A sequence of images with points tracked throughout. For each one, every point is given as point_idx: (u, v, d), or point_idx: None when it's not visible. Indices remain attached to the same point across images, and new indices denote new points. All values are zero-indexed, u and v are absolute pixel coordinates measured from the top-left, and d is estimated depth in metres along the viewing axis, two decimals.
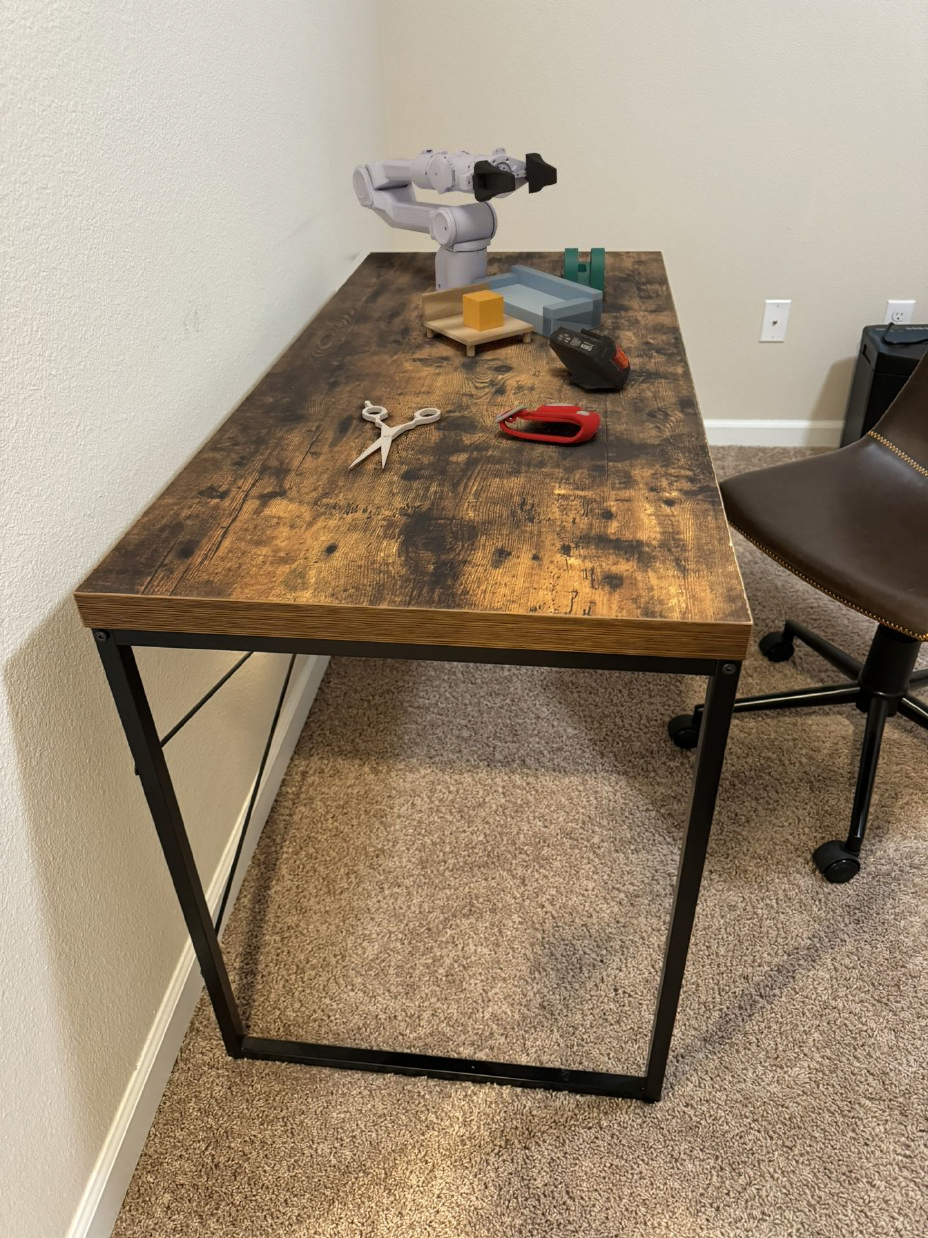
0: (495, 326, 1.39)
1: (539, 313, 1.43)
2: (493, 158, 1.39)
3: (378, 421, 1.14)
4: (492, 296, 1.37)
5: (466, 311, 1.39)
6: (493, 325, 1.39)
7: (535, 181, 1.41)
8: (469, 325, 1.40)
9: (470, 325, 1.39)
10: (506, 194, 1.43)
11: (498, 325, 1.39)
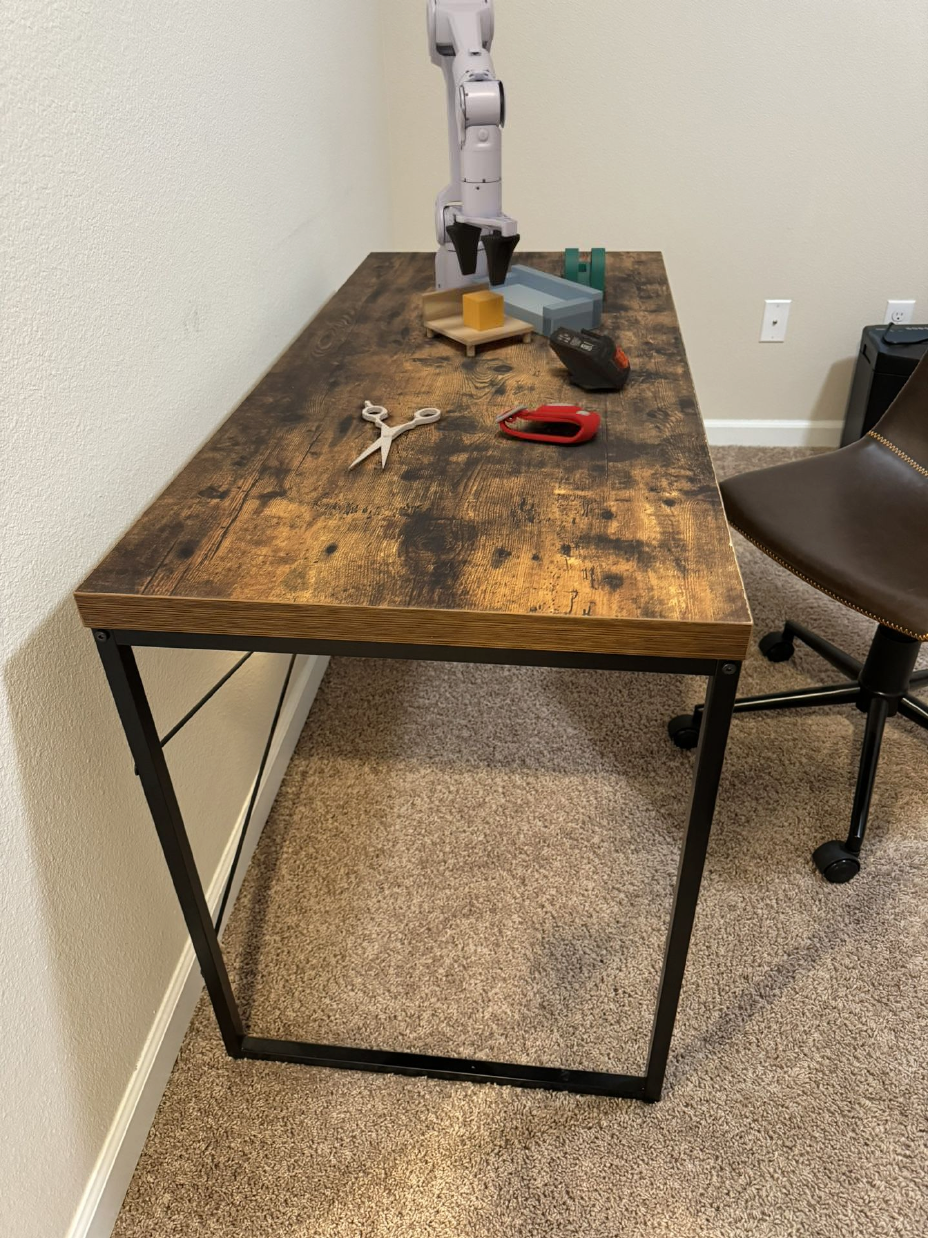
0: (495, 326, 1.39)
1: (539, 313, 1.43)
2: None
3: (378, 421, 1.14)
4: (492, 296, 1.37)
5: (466, 311, 1.39)
6: (493, 325, 1.39)
7: None
8: (469, 325, 1.40)
9: (470, 325, 1.39)
10: None
11: (498, 325, 1.39)
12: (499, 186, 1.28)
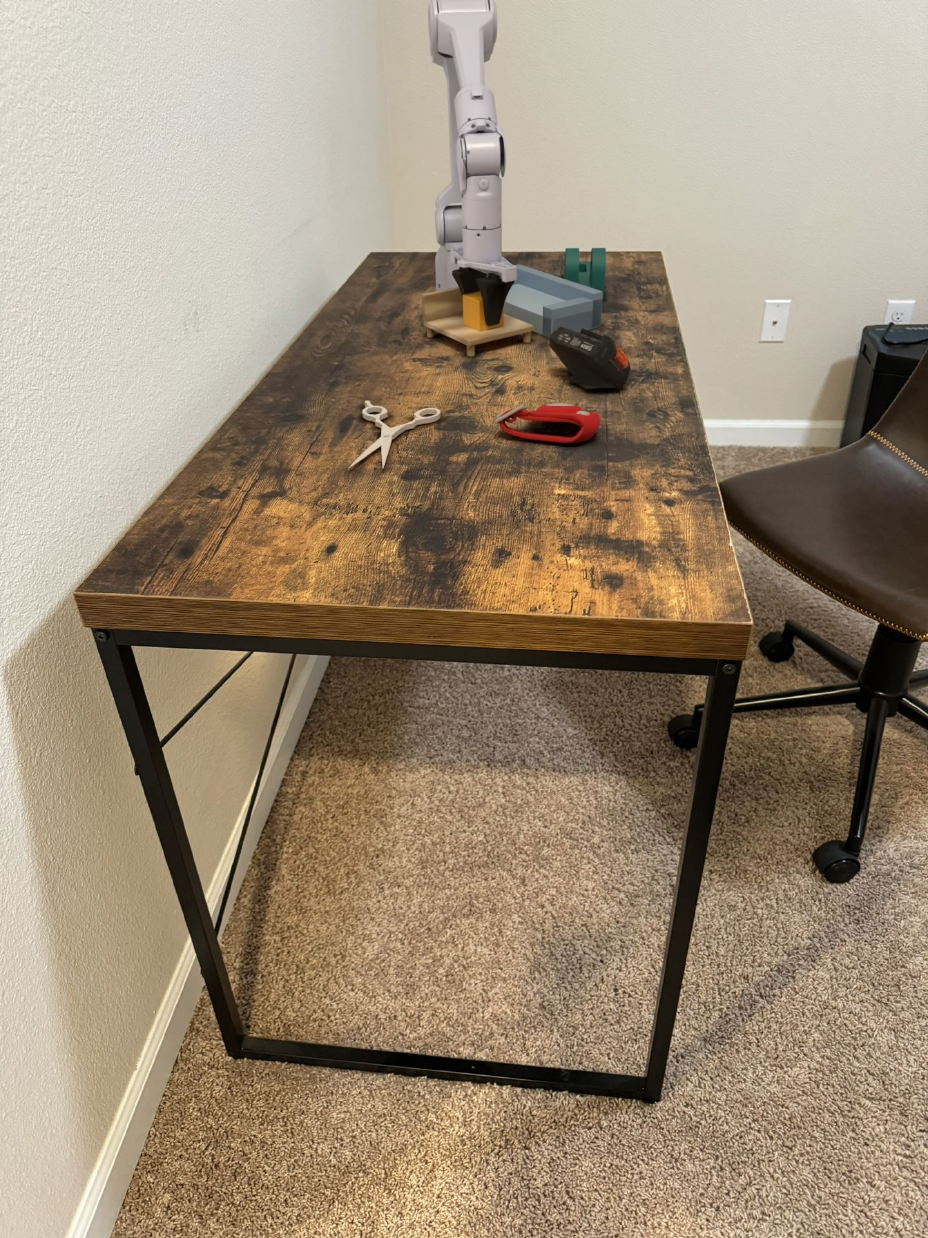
0: (495, 326, 1.39)
1: (539, 313, 1.43)
2: None
3: (378, 421, 1.14)
4: None
5: (466, 311, 1.39)
6: (493, 325, 1.39)
7: None
8: (469, 325, 1.40)
9: (470, 325, 1.39)
10: None
11: (498, 325, 1.39)
12: (499, 232, 1.31)
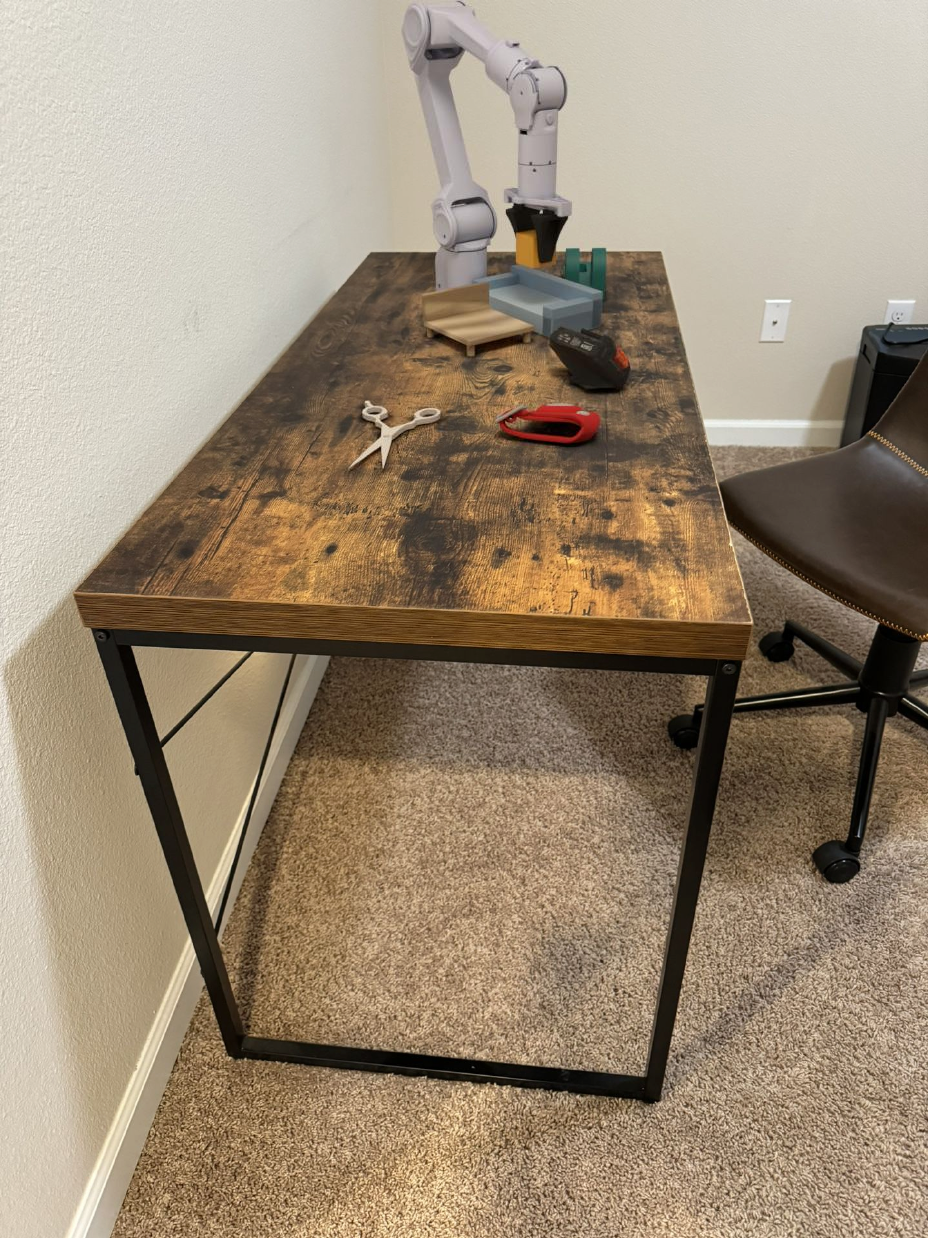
0: (547, 264, 1.42)
1: (539, 313, 1.43)
2: None
3: (378, 421, 1.14)
4: None
5: (519, 249, 1.42)
6: (546, 263, 1.41)
7: None
8: (522, 263, 1.42)
9: (523, 263, 1.42)
10: None
11: (550, 263, 1.42)
12: (554, 169, 1.34)
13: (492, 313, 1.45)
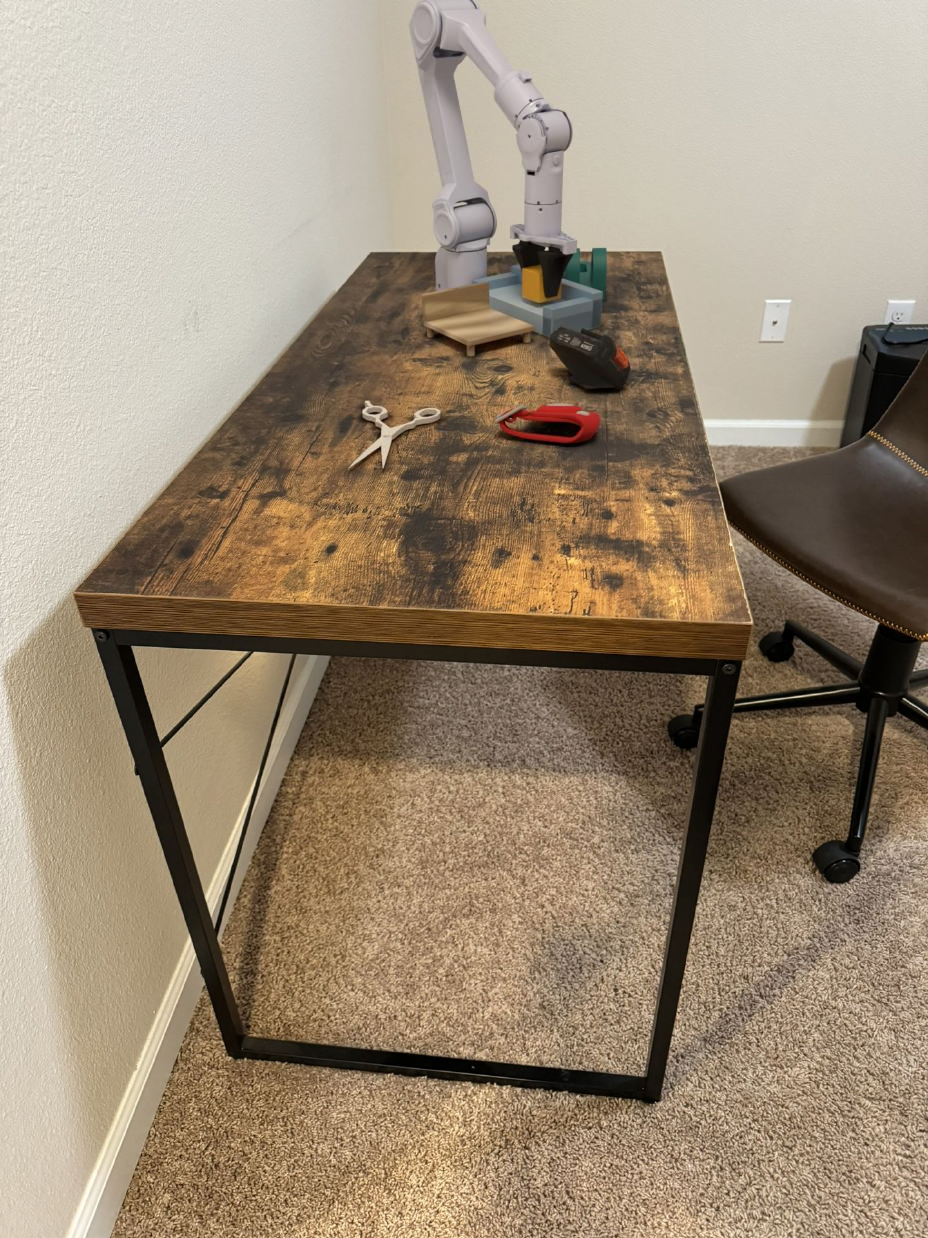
0: (553, 298, 1.46)
1: (539, 313, 1.43)
2: None
3: (378, 421, 1.14)
4: None
5: (526, 284, 1.46)
6: (551, 297, 1.45)
7: None
8: (528, 297, 1.46)
9: (529, 297, 1.46)
10: None
11: (556, 297, 1.46)
12: (560, 207, 1.38)
13: (492, 313, 1.45)
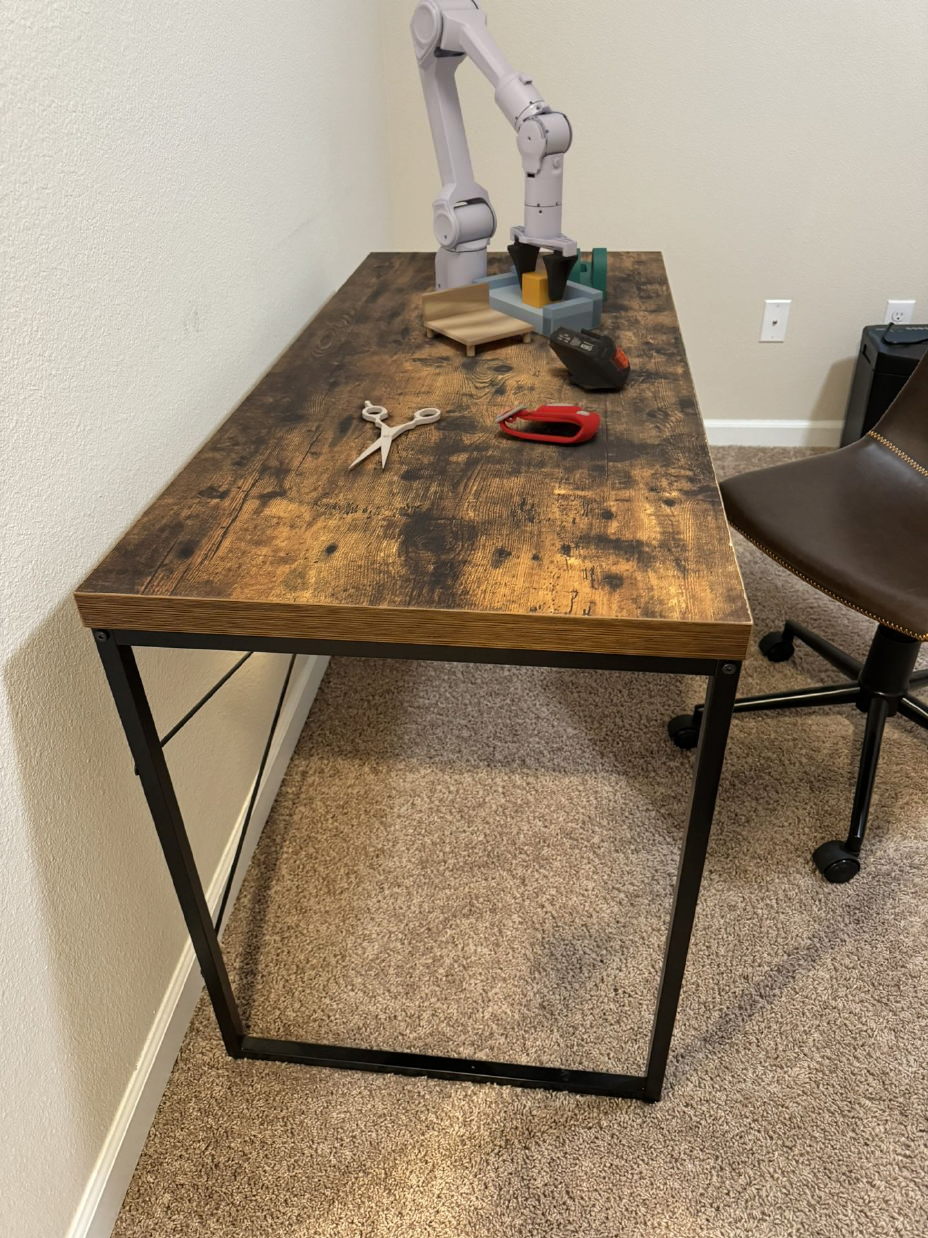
0: None
1: (539, 313, 1.43)
2: None
3: (378, 421, 1.14)
4: None
5: (526, 289, 1.46)
6: (551, 303, 1.46)
7: None
8: (528, 303, 1.47)
9: (529, 303, 1.46)
10: None
11: None
12: (560, 210, 1.38)
13: (492, 313, 1.45)
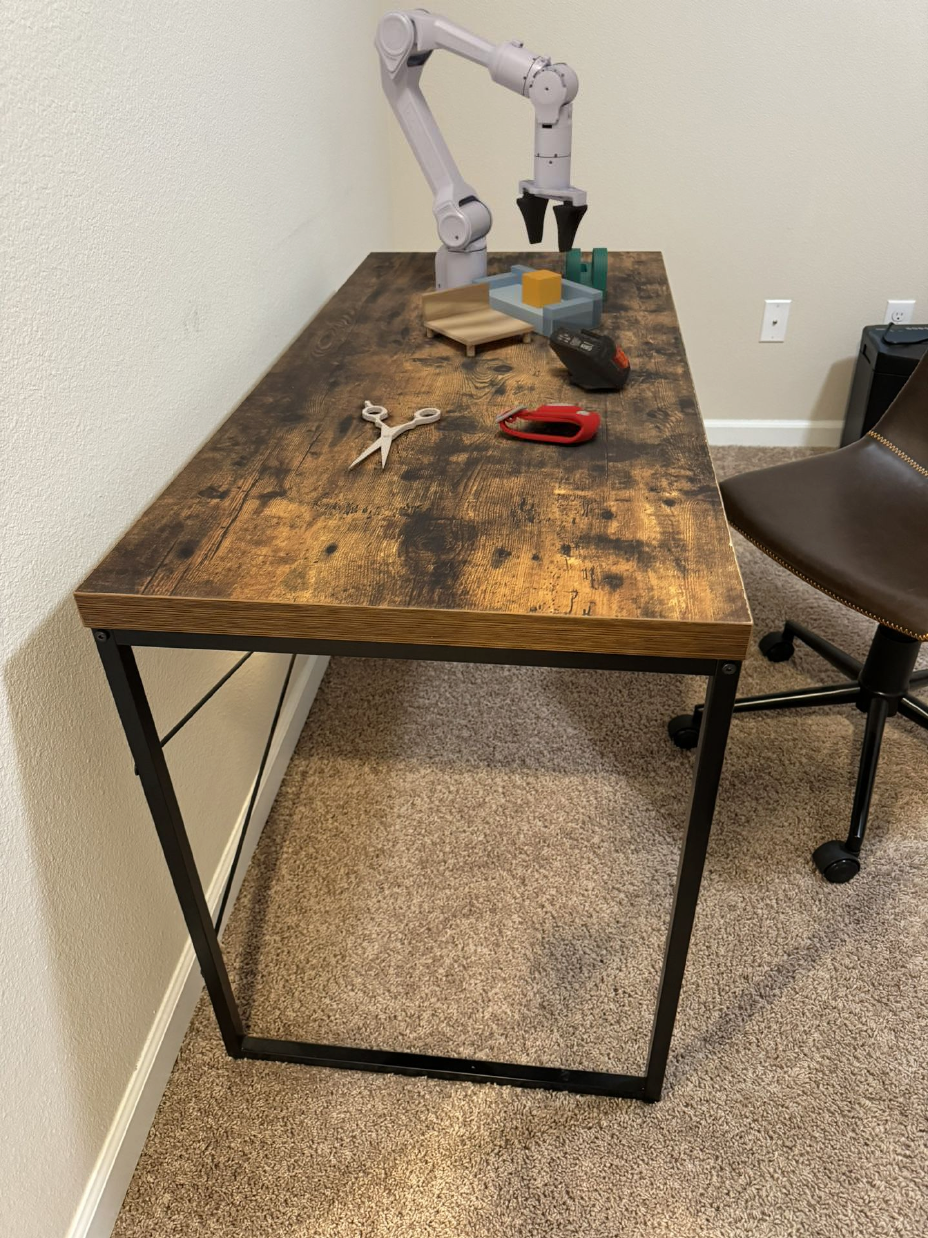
0: None
1: (539, 313, 1.43)
2: None
3: (378, 421, 1.14)
4: (551, 275, 1.44)
5: (526, 289, 1.46)
6: (551, 303, 1.46)
7: None
8: (528, 303, 1.47)
9: (529, 303, 1.46)
10: None
11: None
12: (569, 160, 1.41)
13: (492, 313, 1.45)
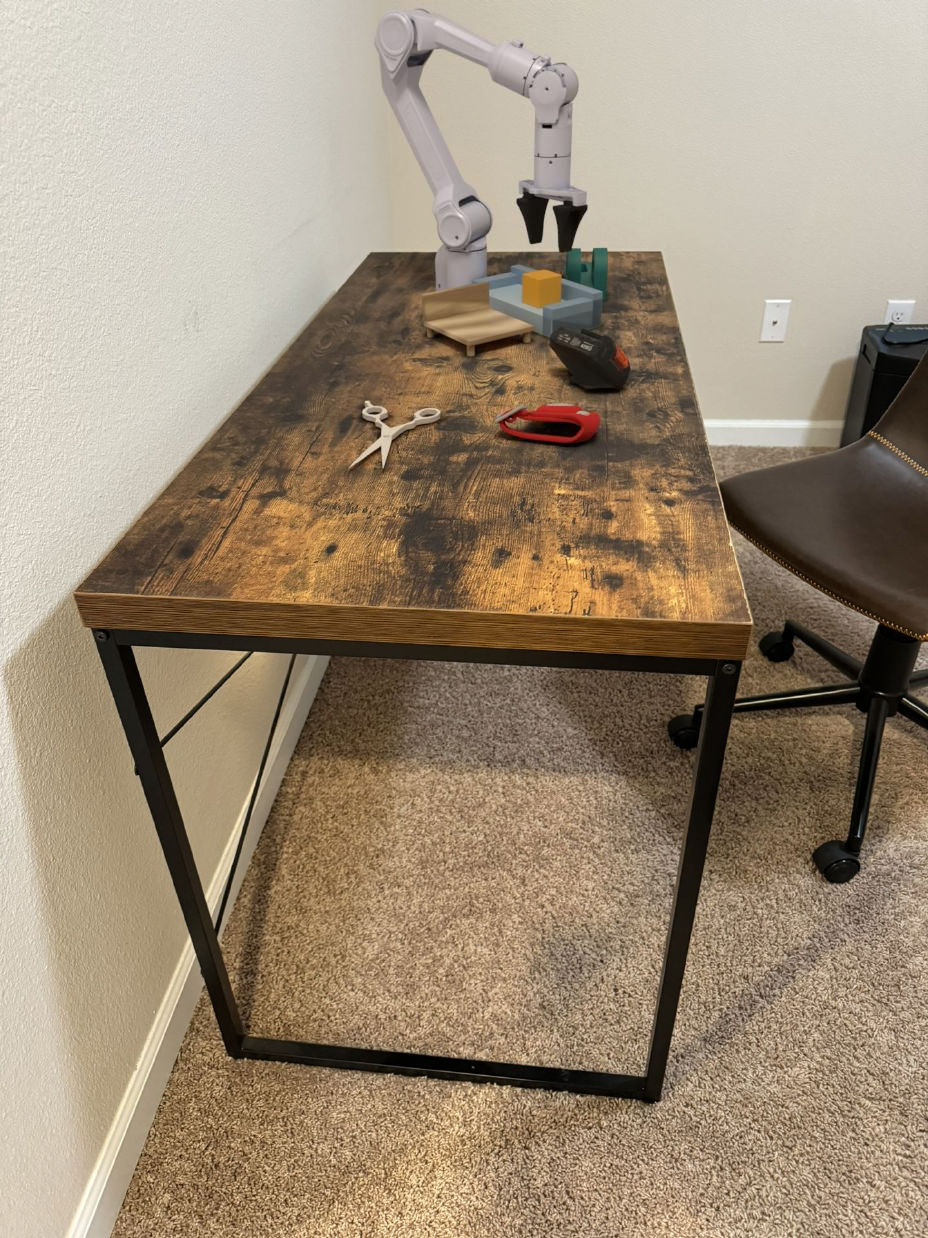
0: None
1: (539, 313, 1.43)
2: None
3: (378, 421, 1.14)
4: (551, 275, 1.44)
5: (526, 289, 1.46)
6: (551, 303, 1.46)
7: None
8: (528, 303, 1.47)
9: (529, 303, 1.46)
10: None
11: None
12: (569, 160, 1.41)
13: (492, 313, 1.45)
